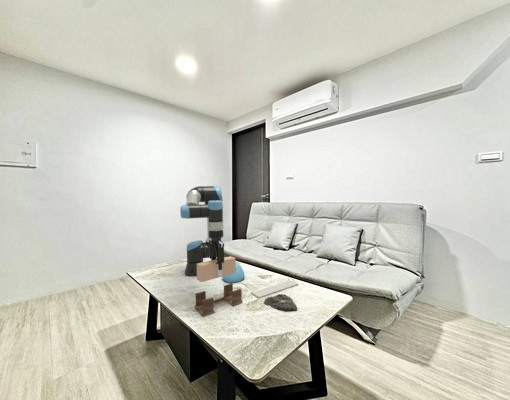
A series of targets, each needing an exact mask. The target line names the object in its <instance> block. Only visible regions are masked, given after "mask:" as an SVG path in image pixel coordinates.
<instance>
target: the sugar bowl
mask: <svg viewBox="0 0 510 400" xmlns="http://www.w3.org/2000/svg"><path fill="white" fill-rule="evenodd" d="M242 267H243V266H241V264H239V263H237V262H236V273H233V274H230V275H226V276H222V277H221V278H222V279H223V281H224V282H225V283H228V284H231V283H232V284H234V283H238V282H239V283H240V282H241V281H242V280H244V278H245V271H244V269H243V268H242Z"/></svg>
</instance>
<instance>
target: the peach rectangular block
mask: <svg viewBox="0 0 510 400" xmlns="http://www.w3.org/2000/svg"><path fill="white" fill-rule="evenodd" d="M216 263H217V259H216V260H211V259H210V260H208V261H203V262H202V263H197V276H196V280H197V281H199V283H204V282H207V281H211V280H214V279H215V280H216V279H218V278H222V276H226V275H230V274H233V273H236V263H237V262H236V257H233V256H226V257H225V256H224V263H222V276H218V277H217V264H216Z"/></svg>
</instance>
